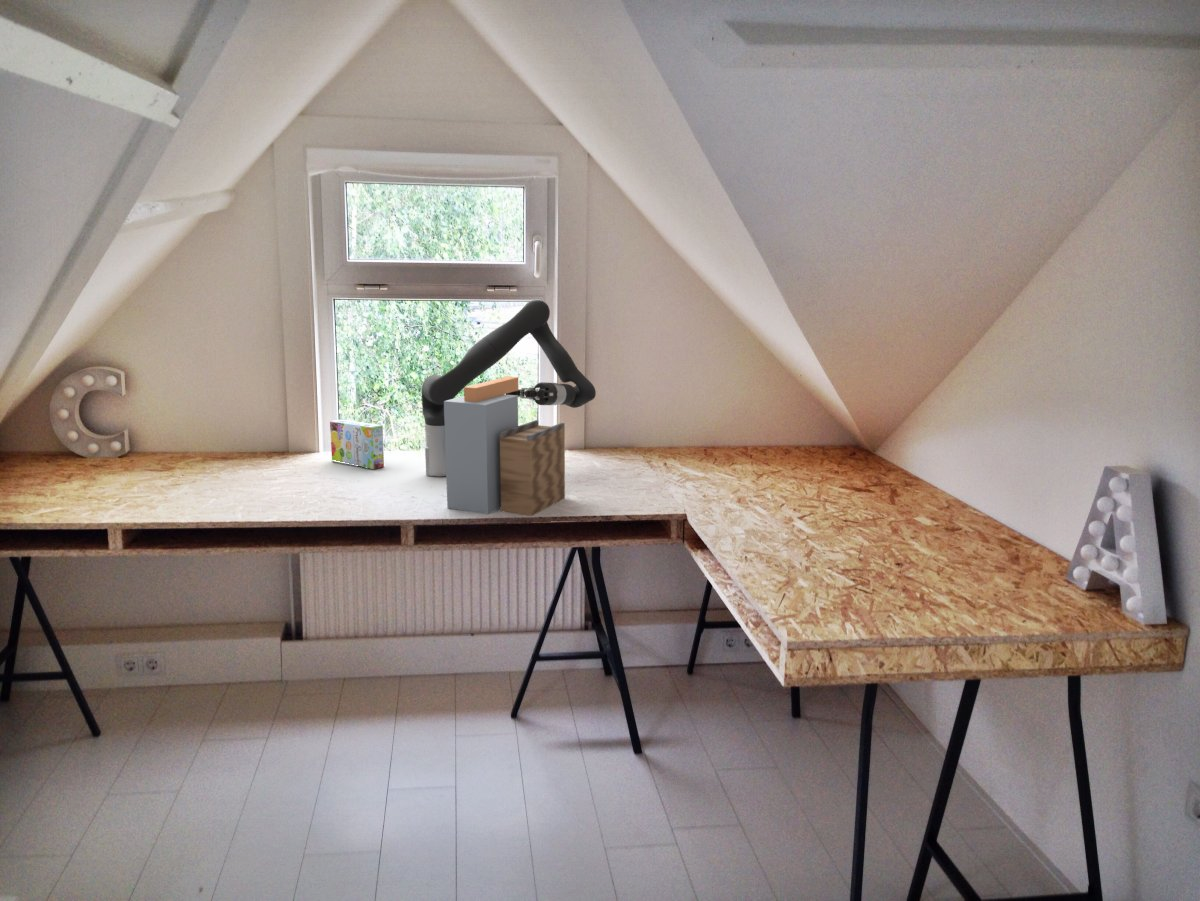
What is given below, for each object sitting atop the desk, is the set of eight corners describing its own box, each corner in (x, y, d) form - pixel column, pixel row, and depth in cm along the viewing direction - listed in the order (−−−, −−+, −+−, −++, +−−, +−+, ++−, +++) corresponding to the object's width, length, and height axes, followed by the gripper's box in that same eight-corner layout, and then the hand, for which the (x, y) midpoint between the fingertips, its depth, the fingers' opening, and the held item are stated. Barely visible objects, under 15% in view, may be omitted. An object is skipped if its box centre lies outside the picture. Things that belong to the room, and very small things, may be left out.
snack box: (385, 467, 327) (383, 424, 324) (373, 470, 323) (371, 427, 319) (342, 459, 338) (340, 418, 335) (330, 462, 334) (328, 420, 330)
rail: (476, 401, 269) (475, 388, 269) (464, 400, 271) (463, 387, 270) (518, 390, 291) (518, 377, 290) (507, 389, 292) (507, 376, 291)
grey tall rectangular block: (487, 514, 272) (485, 404, 265) (447, 508, 278) (443, 401, 270) (519, 499, 288) (517, 395, 281) (480, 493, 293) (477, 392, 286)
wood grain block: (531, 515, 270) (530, 435, 265) (501, 511, 274) (499, 432, 269) (564, 498, 289) (564, 423, 284) (536, 494, 293) (535, 420, 288)
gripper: (534, 382, 316) (500, 380, 303) (566, 383, 307) (533, 382, 295) (533, 404, 317) (499, 404, 304) (565, 406, 308) (532, 406, 295)
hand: (516, 393), depth 299 cm, fingers open, 8 cm apart
